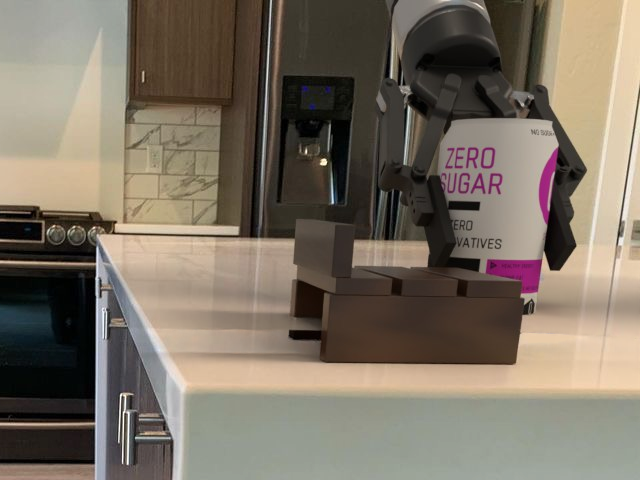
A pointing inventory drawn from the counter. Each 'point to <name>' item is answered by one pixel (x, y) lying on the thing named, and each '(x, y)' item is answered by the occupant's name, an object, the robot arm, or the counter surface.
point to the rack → (399, 306)
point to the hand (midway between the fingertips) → (504, 256)
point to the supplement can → (499, 196)
